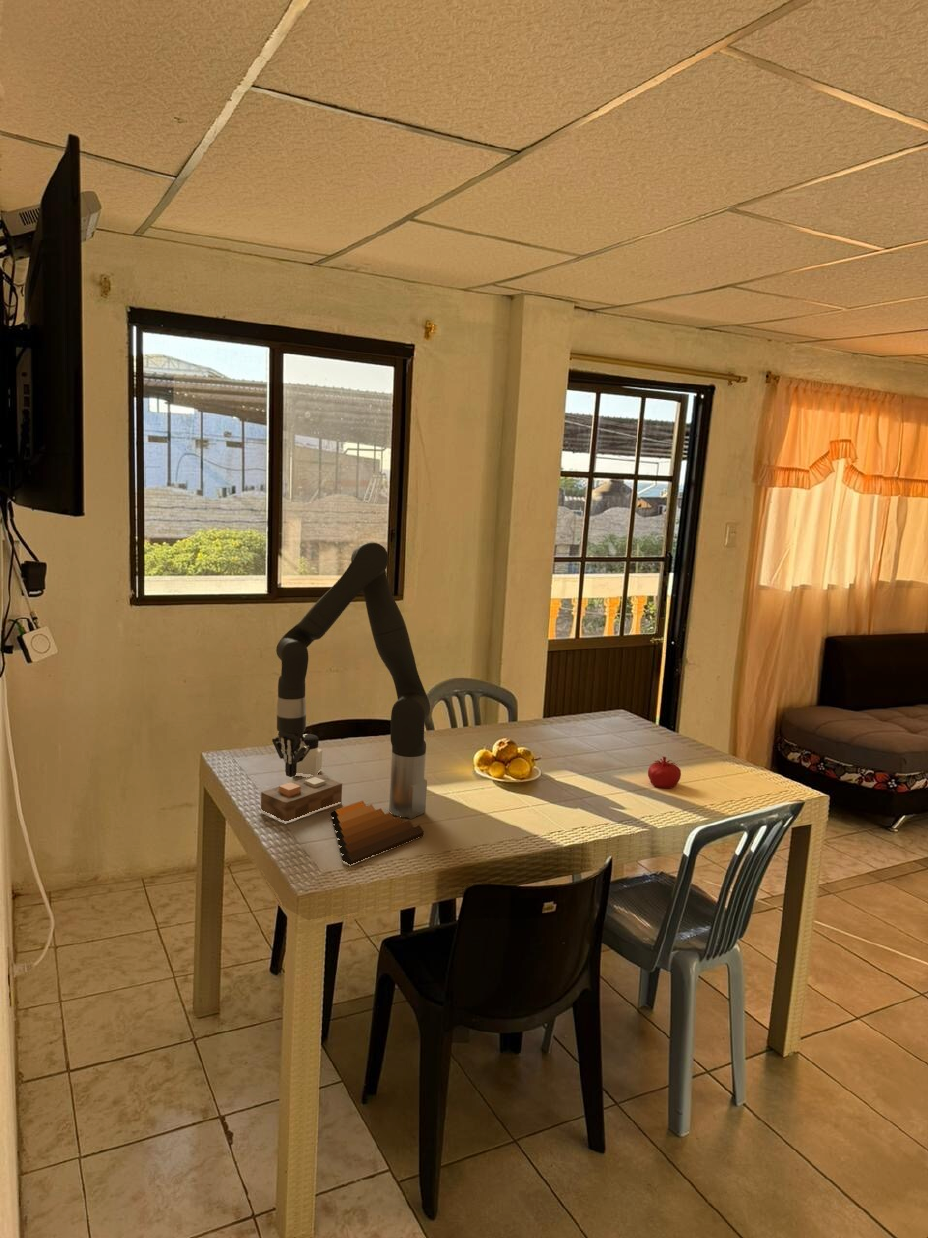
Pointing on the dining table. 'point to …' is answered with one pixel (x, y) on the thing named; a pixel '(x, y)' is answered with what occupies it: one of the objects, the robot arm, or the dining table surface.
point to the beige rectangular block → (314, 782)
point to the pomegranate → (664, 774)
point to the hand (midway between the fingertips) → (290, 775)
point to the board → (301, 799)
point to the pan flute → (370, 831)
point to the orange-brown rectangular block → (289, 789)
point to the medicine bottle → (311, 756)
